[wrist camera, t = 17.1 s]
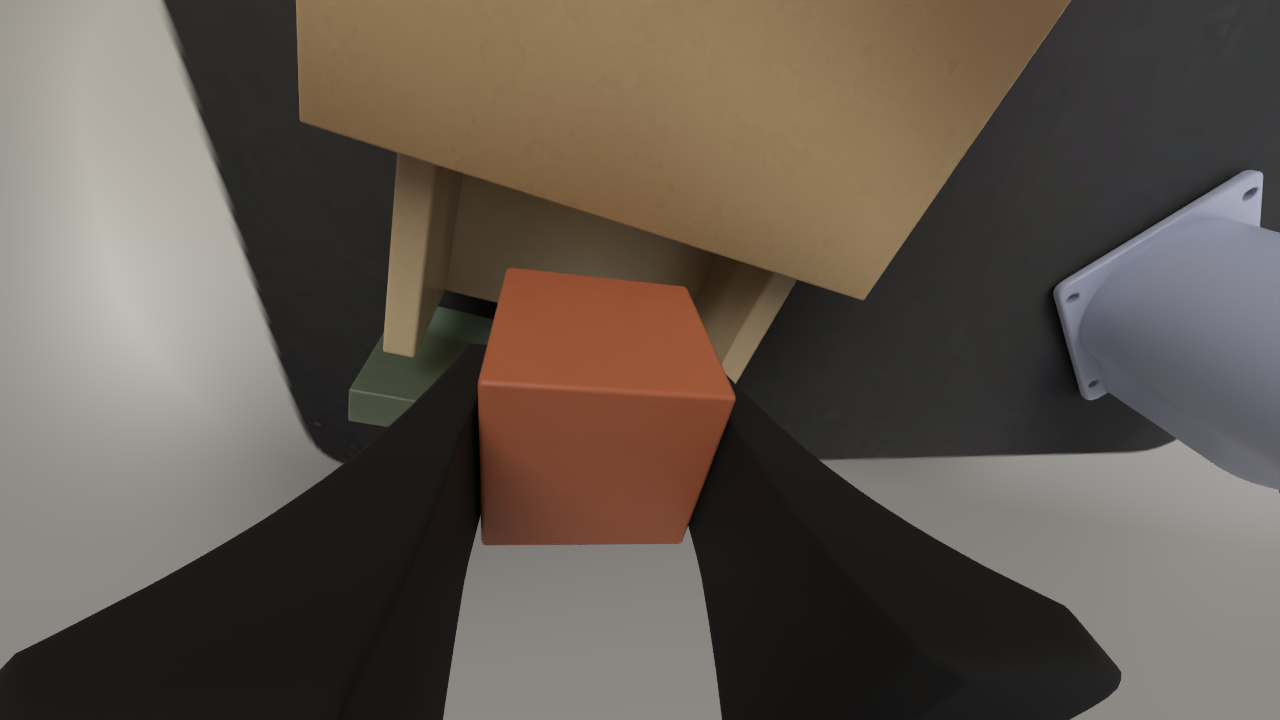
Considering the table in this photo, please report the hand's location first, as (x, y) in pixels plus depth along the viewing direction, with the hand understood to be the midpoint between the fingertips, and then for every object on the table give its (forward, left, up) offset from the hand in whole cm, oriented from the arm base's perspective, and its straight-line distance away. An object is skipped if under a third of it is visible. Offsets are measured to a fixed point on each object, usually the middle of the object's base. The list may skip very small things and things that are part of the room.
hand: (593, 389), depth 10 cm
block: (0, 0, -1) cm, 1 cm away
